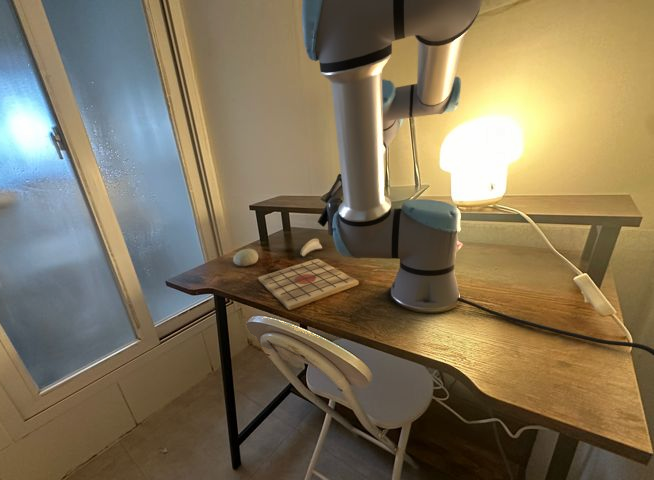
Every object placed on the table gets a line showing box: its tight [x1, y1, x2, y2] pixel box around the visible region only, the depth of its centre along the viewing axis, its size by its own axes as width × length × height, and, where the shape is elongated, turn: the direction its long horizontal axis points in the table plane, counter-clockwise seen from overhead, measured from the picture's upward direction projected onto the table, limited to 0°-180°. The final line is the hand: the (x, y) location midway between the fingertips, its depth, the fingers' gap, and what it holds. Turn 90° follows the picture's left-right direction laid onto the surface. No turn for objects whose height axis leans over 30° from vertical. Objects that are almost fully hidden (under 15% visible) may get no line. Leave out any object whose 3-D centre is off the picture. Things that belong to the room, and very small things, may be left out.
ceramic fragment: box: [299, 238, 323, 258], centre depth 112 cm, size 14×5×4 cm, turn 143°
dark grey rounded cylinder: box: [326, 197, 344, 237], centre depth 91 cm, size 5×5×11 cm
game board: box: [257, 258, 360, 311], centre depth 90 cm, size 22×22×1 cm
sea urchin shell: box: [232, 248, 259, 268], centre depth 110 cm, size 9×8×8 cm
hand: (326, 225), depth 90 cm, fingers closed on dark grey rounded cylinder, 5 cm apart
